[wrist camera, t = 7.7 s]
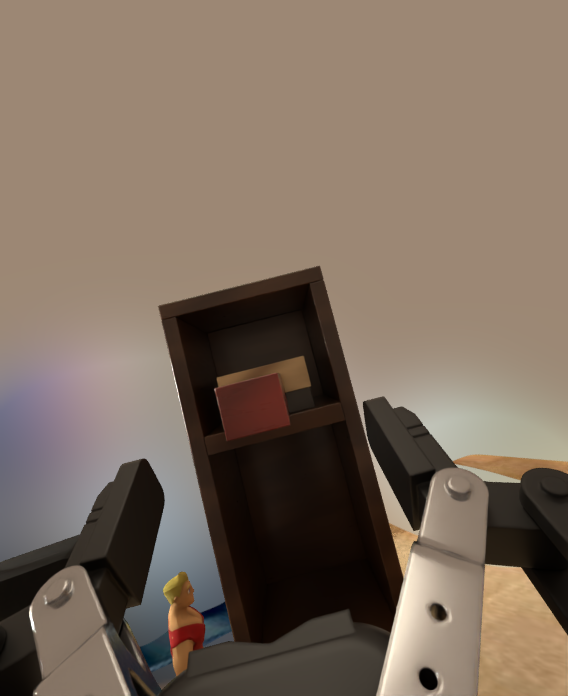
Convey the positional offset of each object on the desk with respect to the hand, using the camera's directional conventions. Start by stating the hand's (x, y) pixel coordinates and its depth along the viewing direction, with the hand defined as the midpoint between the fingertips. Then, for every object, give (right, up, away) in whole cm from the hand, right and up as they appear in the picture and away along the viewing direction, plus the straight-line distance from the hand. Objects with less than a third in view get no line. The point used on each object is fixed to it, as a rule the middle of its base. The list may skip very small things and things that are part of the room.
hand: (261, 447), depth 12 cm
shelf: (+7, -30, +12) cm, 33 cm away
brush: (0, -1, +9) cm, 9 cm away
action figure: (-7, -34, +22) cm, 41 cm away
